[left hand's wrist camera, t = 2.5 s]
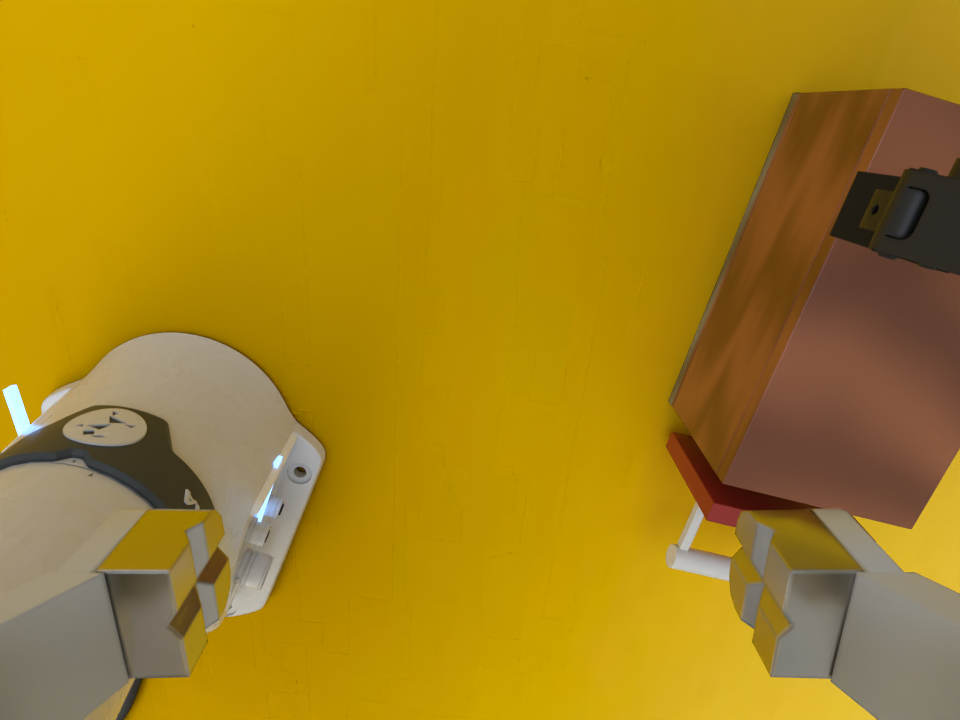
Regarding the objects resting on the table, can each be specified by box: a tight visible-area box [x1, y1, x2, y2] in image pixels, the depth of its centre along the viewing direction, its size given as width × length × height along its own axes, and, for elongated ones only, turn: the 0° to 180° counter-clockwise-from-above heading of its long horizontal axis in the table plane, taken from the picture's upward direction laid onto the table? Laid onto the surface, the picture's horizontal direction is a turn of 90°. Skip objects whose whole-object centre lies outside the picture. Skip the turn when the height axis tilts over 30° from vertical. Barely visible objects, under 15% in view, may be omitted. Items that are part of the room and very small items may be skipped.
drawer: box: [666, 432, 876, 581], centre depth 39 cm, size 25×10×9 cm, turn 165°
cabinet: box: [669, 88, 960, 529], centre depth 37 cm, size 20×11×11 cm, turn 165°
